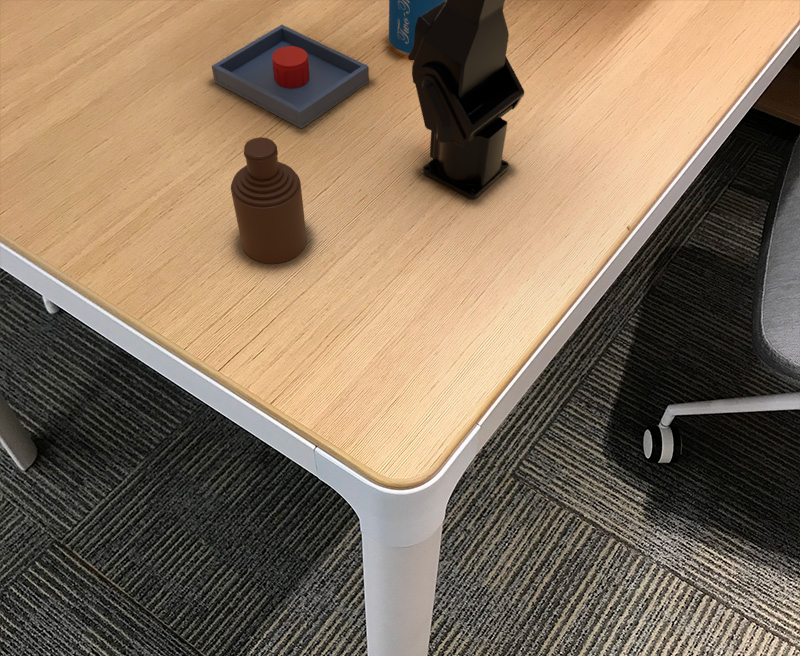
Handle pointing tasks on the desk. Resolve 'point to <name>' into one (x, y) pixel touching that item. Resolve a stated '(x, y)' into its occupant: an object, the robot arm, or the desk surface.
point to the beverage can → (406, 21)
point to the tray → (298, 106)
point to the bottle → (268, 205)
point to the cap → (290, 67)
